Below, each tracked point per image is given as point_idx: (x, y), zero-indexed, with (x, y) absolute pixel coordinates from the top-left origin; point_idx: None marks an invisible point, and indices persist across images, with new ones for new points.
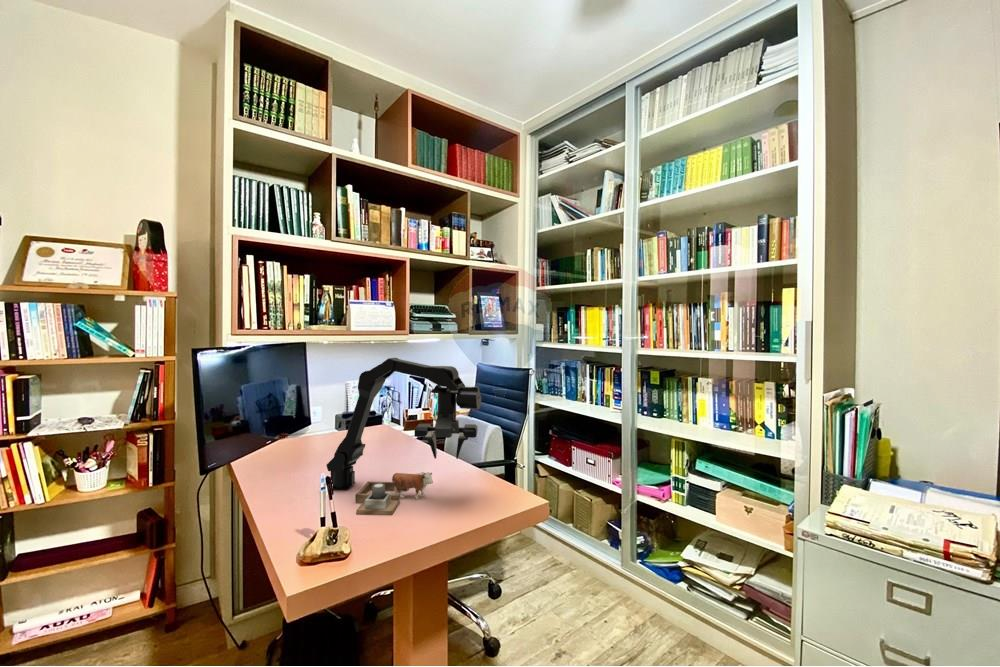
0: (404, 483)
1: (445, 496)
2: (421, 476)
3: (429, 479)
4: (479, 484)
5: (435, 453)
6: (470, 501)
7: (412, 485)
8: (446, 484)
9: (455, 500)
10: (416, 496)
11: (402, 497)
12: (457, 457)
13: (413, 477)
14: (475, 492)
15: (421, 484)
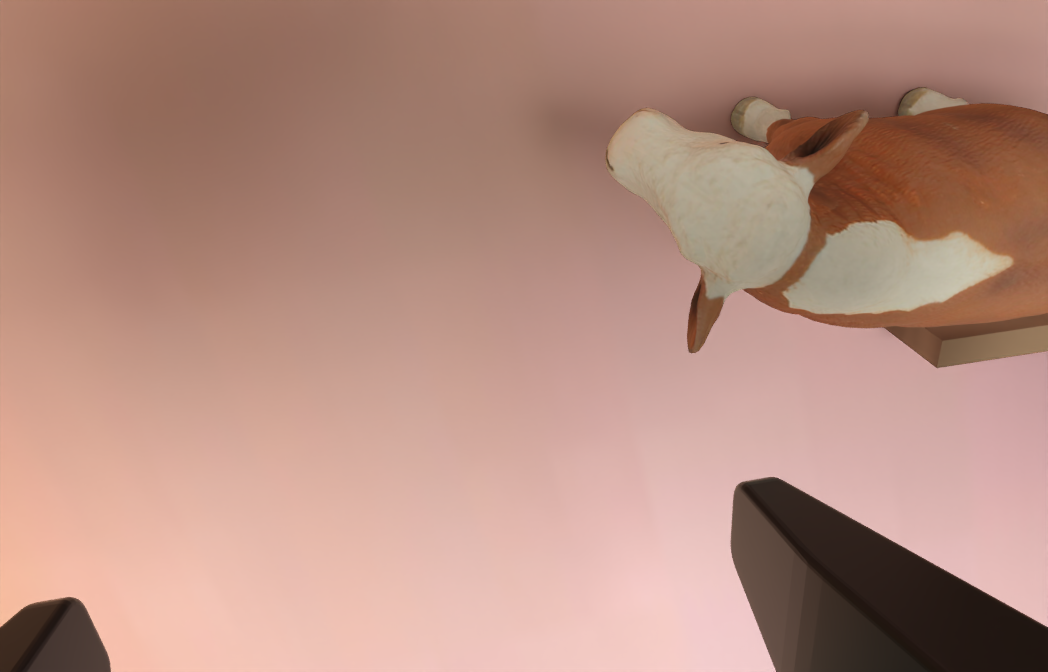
0: (1045, 115)
1: (420, 244)
2: (863, 120)
3: (685, 145)
4: (136, 618)
5: (828, 576)
6: (25, 149)
7: (909, 116)
8: (501, 540)
9: (248, 147)
10: (770, 109)
11: (928, 92)
12: (7, 632)
13: (974, 178)
14: (86, 422)
15: (782, 143)
